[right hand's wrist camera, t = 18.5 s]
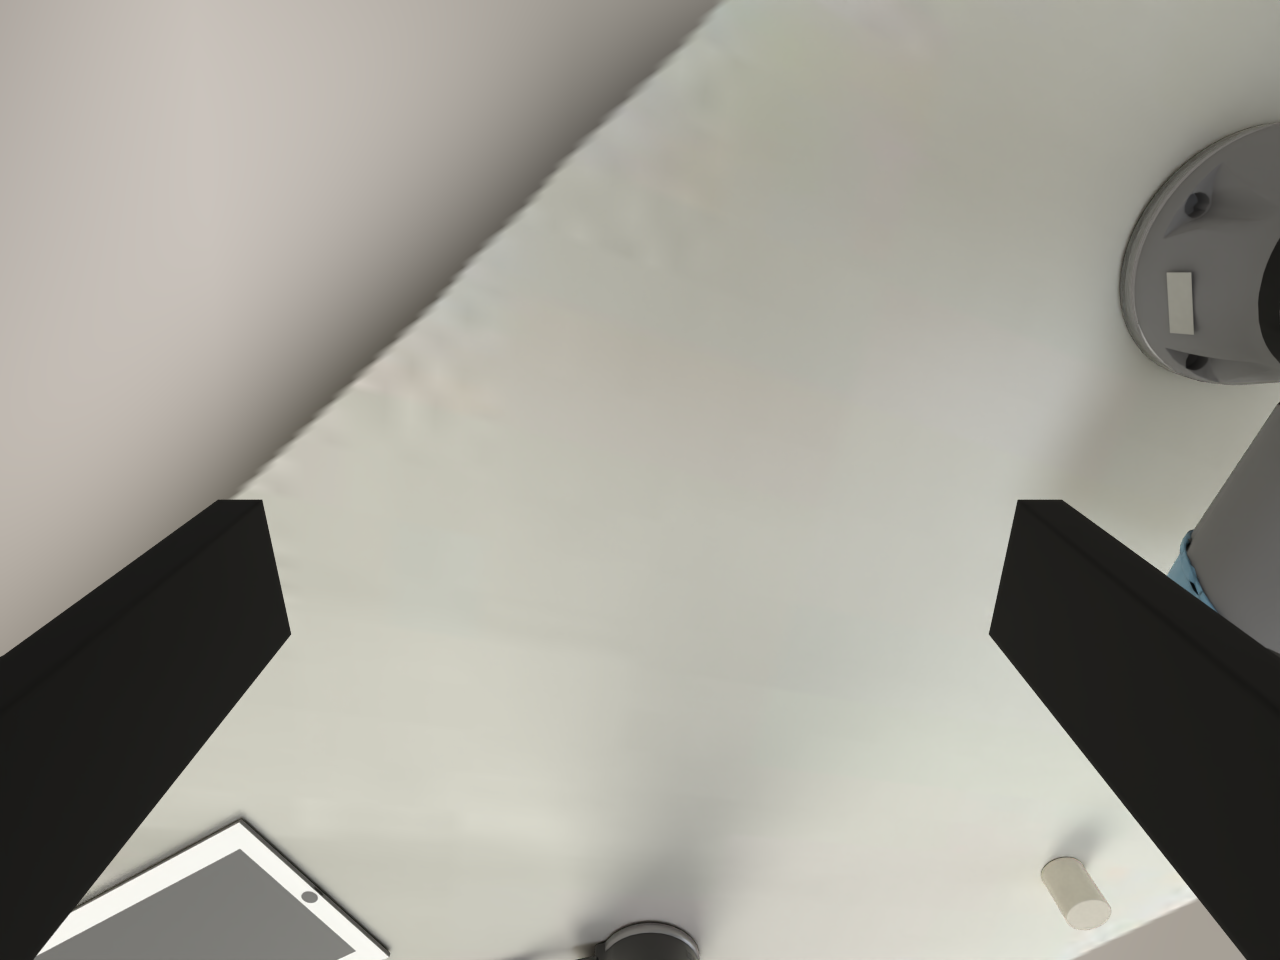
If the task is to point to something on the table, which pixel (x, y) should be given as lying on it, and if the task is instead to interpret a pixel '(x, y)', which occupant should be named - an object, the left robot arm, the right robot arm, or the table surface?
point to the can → (1075, 894)
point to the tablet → (214, 911)
